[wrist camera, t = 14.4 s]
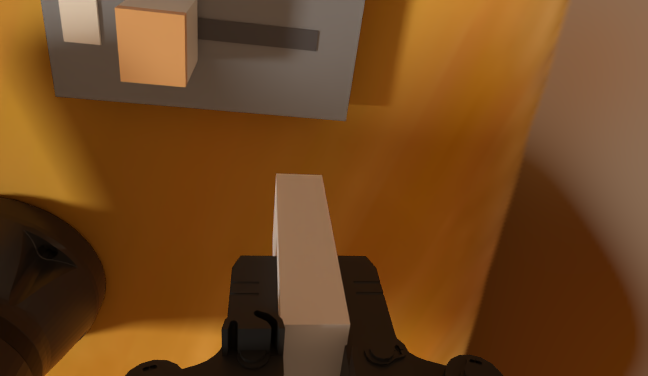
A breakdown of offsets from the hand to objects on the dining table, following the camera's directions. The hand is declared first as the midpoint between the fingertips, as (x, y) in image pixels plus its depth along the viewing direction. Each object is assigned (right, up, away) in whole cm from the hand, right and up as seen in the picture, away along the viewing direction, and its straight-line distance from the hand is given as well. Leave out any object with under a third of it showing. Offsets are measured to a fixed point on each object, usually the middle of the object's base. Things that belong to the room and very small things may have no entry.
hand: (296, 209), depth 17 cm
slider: (-8, +10, +12) cm, 17 cm away
